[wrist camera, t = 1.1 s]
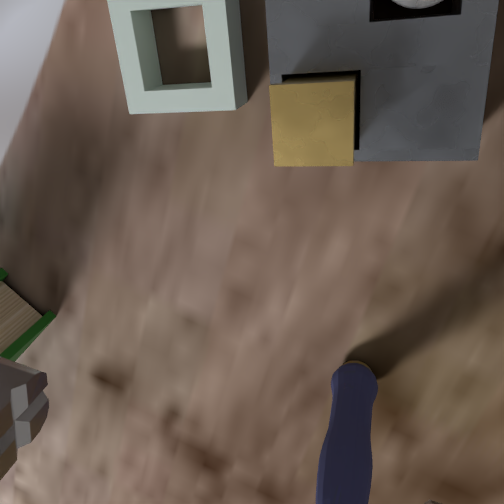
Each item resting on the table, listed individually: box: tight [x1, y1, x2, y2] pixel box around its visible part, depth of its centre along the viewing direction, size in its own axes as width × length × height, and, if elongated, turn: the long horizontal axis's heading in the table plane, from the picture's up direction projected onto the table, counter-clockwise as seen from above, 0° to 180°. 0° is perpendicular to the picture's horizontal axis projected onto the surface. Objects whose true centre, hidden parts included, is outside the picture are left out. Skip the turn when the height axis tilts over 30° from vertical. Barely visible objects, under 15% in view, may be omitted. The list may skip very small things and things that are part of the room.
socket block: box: [265, 0, 499, 161], centre depth 28 cm, size 12×14×5 cm
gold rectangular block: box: [269, 71, 358, 166], centre depth 28 cm, size 4×4×6 cm
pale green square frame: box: [107, 0, 248, 114], centre depth 32 cm, size 8×8×3 cm
